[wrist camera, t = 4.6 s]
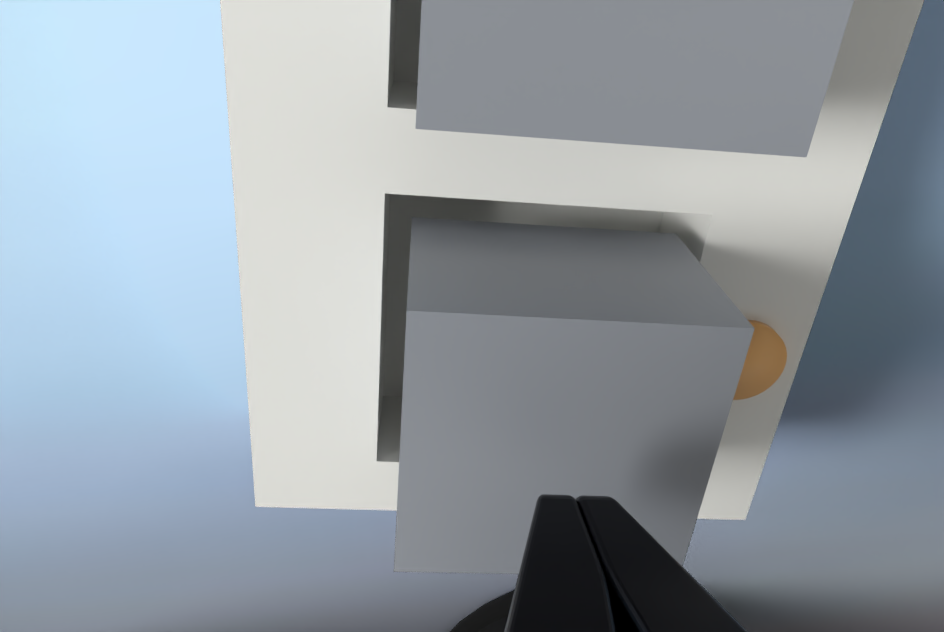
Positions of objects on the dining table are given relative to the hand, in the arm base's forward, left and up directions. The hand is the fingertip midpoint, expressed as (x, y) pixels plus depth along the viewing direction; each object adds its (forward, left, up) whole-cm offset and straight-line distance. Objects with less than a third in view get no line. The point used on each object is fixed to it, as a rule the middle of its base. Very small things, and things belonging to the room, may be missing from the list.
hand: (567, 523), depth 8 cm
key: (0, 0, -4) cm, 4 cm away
